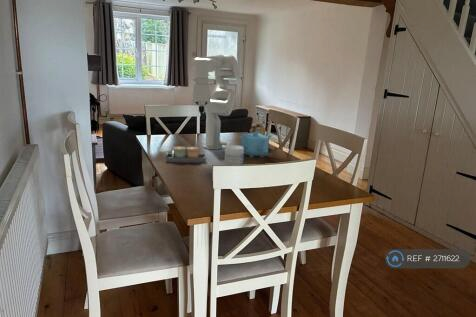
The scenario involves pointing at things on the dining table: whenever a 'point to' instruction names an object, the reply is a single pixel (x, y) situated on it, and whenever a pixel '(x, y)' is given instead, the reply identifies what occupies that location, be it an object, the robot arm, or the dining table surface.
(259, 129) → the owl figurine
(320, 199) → the dining table surface
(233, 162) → the supplement tub
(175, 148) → the sage jar
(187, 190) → the dining table surface
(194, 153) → the terracotta jar
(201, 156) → the tray
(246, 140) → the teakettle
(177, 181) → the dining table surface
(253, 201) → the dining table surface
